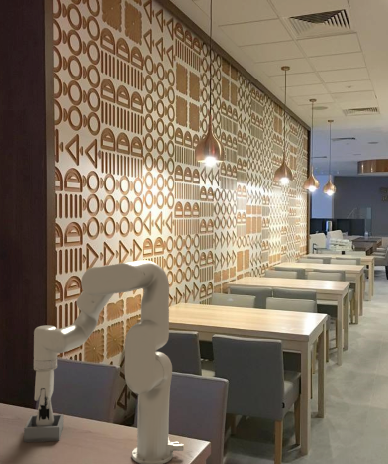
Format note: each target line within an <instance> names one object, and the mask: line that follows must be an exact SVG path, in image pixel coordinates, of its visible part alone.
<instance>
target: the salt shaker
mask: <svg viewBox="0 0 388 464" xmlns="http://www.w3.org/2000/svg"><path fill="white" fill-rule="evenodd" d="M45 399H47V398H45ZM45 403H46V404H47V402H45ZM39 406H40V401H39V403H38V408H37V414H36V415H37V419H36V424H37V426H38V427H47V426H52V424H53V423H54V416H53V415H54V413H53V407H52V399H51V400H49V407H48V408H49V420H48V418H47V417H46V419H44V420H43V419H41V418H40V421H39Z"/></svg>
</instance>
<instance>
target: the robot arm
mask: <svg viewBox="0 0 388 464" xmlns="http://www.w3.org/2000/svg"><path fill="white" fill-rule="evenodd" d="M80 280H81V288H82V292H81V293H80V295H78V297H77V299H76V306H77V308H78V309H79V310H80V312H79V315H78V316H77V318H76V319H75V321H74V322H73V323H72V324H71V325H68V326H65V327H61V328H57V327H56V326H54V325H40V326H37V327H36V328H35V329H34V331H33V335H34V336H33V370H34V371H35V386H34V401H35V402H37V401H39V402H40V406H39V405H38V407H39V421H40V418H41V419H43V420H44V419H46V417H47V418H48V420H49V408H48V407H49V400H51V401H52V396H53V393H54V387H55V386H54V385H55V370H56V369H57V368H58V354H62V353H65V352H68V351H69V352H70V351H71V350H73V349H76V348H78V347H81V346H83V344H84V343H86V342H87V341H88V339H89V338H90V336H91V335H92V334H93V332H94V331H95V330H96V328H97V325H98V323H99V319H100V314H101V312H102V311H103V309H104V308H105V306H106V305H107V303H108V302H109V301H110V300H111V298H112V297H113V295H114V294H119V293H120V294H121V293H129V292H132V291H137V290H141V289H143V294H142V297H141V302H140V318H139V319H140V320H139V322H137V323H135V324H133V325H132V326H131V327H130V328H129V330H128V331H127V333H126V336H125V341H124V378H125V382H126V385H127V386H128V388H129V390H131V391H132V392H133V393H135V394H138V395H137V422H136V423H137V424H136V425H137V426H136V427H137V428H136V429H137V430H136V432H137V434H136V435H137V436H136V438H137V439H136V447H134V448H133V450H132V451H131V458H132V460H133V461H135V463H138V464H166V463H168V462H170V461H171V460H173V458H174V452H183V451H184V450H185V449H184V444H183V443H180V442H179V441H171V440H170V438H169V426H170V425H169V424H170V421H169V419H170V416H169V415H170V393H171V392H170V391H171V382H172V376H173V365H172V362H171V359H170V357H169V355H166V354H165V353H164V352H161V351H158V350H159V349H161V348H163V347H164V346H165V345H166V344H167V343H168V341H169V336H170V330H169V329H170V325H169V324H170V308H169V307H170V305H169V304H170V282H169V277H168V276H167V273H166V272H165V270H164V269H163V268H162V267H161V266H160V265H158V263H155V262H154V261H151V260H140V259H139V260H135V261H128V262H123V263H115V264H109V265H100V266H93V267H90V268H88V269H87V270H85V272H84V273H83V274H82V276H81V279H80ZM45 398H47V399H45ZM45 402H47V404H46V403H45ZM179 443H180V444H179Z"/></svg>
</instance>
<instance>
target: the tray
mask: <svg viewBox="0 0 388 464" xmlns="http://www.w3.org/2000/svg"><path fill="white" fill-rule="evenodd" d="M64 414H65V413H64ZM64 414H63V413H59V414H56V413H55V414H53V416H54V423H53V424H52V426H47V427H38V426H37V424H36V419H37V414H31V415H30V416H29V417H28V420H27V422H26V424H25V426H24V428H23V431H24V432H23V443H31V442H32V443H33V442H34V443H35V442H60V440H61V437H62V432H63V429H64V419H65V418H64Z"/></svg>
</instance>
